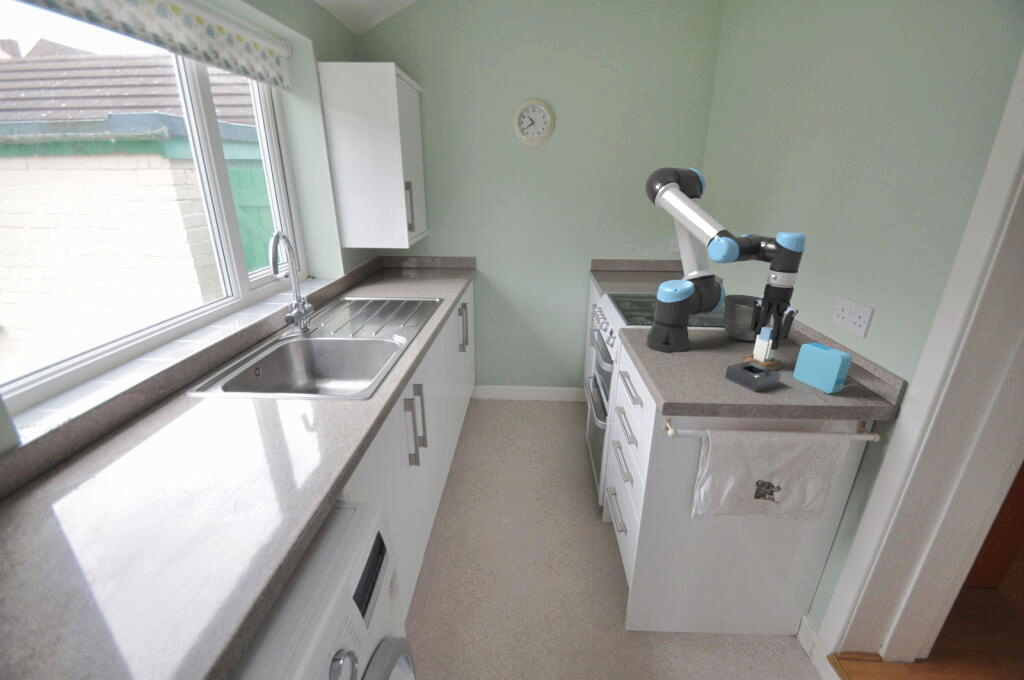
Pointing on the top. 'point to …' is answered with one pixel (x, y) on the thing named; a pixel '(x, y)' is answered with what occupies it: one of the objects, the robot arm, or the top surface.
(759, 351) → the plug
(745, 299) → the grey metal pot
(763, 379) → the port
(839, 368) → the data package
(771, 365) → the frame
